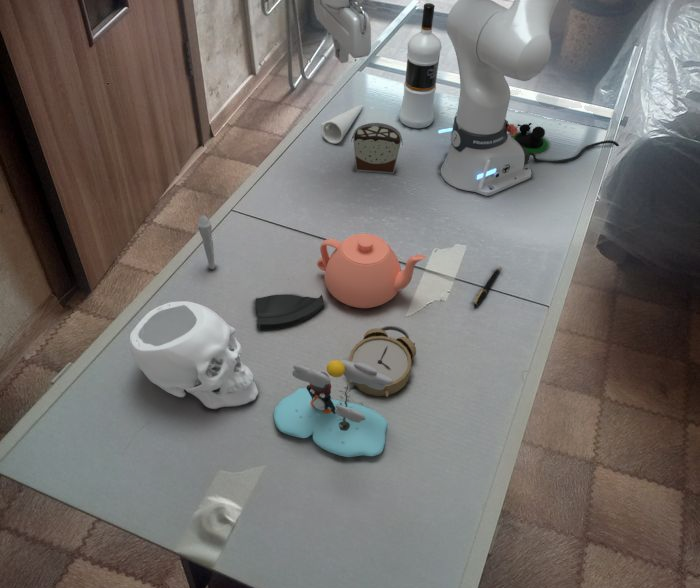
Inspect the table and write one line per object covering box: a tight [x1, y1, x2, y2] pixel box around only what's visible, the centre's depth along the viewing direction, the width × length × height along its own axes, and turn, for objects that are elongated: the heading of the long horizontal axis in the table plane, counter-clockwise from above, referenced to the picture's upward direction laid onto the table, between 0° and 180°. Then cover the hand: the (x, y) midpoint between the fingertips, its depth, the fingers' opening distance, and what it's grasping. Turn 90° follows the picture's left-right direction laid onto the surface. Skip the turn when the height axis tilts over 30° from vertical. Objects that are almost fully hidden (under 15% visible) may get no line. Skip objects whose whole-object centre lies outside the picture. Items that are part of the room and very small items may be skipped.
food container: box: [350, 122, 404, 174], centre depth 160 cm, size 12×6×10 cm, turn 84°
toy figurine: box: [510, 122, 549, 154], centre depth 170 cm, size 10×10×6 cm
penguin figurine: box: [273, 358, 393, 458], centre depth 107 cm, size 20×11×15 cm, turn 66°
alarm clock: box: [348, 325, 417, 398], centre depth 120 cm, size 11×5×15 cm
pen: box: [197, 214, 216, 270], centre depth 132 cm, size 2×3×14 cm
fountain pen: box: [473, 265, 501, 308], centre depth 135 cm, size 14×1×2 cm, turn 150°
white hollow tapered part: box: [320, 104, 363, 145], centre depth 174 cm, size 6×6×19 cm
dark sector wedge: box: [255, 293, 325, 331], centre depth 129 cm, size 8×14×2 cm, turn 100°
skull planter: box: [129, 300, 259, 410], centre depth 114 cm, size 14×20×19 cm
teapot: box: [317, 233, 426, 309], centre depth 130 cm, size 22×16×12 cm
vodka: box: [398, 2, 443, 129], centre depth 166 cm, size 9×9×30 cm
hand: (341, 59), depth 136 cm, fingers closed
